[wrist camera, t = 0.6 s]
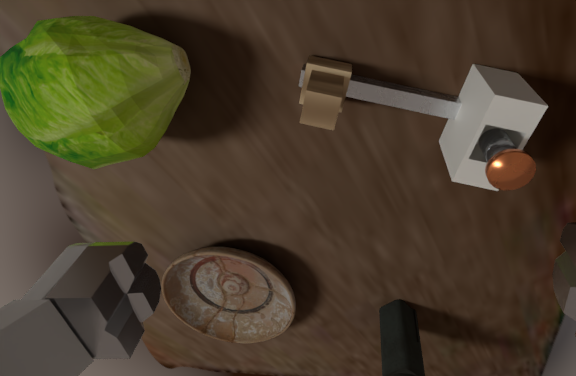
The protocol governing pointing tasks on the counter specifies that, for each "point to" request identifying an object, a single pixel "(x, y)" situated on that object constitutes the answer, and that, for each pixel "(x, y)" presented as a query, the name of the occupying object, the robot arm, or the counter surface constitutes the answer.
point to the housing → (488, 120)
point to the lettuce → (93, 88)
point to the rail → (400, 96)
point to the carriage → (324, 91)
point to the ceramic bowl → (229, 295)
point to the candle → (400, 341)
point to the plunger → (505, 161)
